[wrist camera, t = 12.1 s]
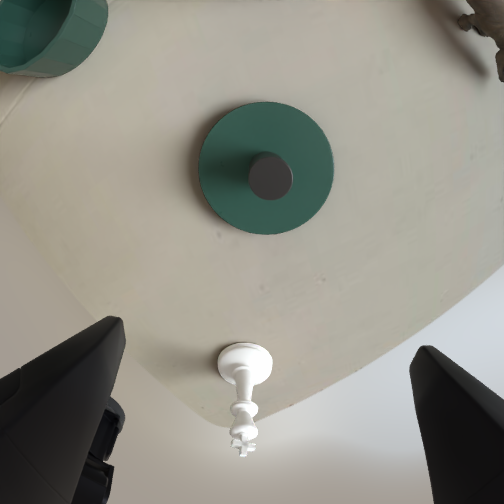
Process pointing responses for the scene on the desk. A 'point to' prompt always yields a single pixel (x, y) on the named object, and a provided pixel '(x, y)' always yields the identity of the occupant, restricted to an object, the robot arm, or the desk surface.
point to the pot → (49, 35)
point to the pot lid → (266, 168)
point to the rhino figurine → (488, 25)
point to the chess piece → (244, 388)
